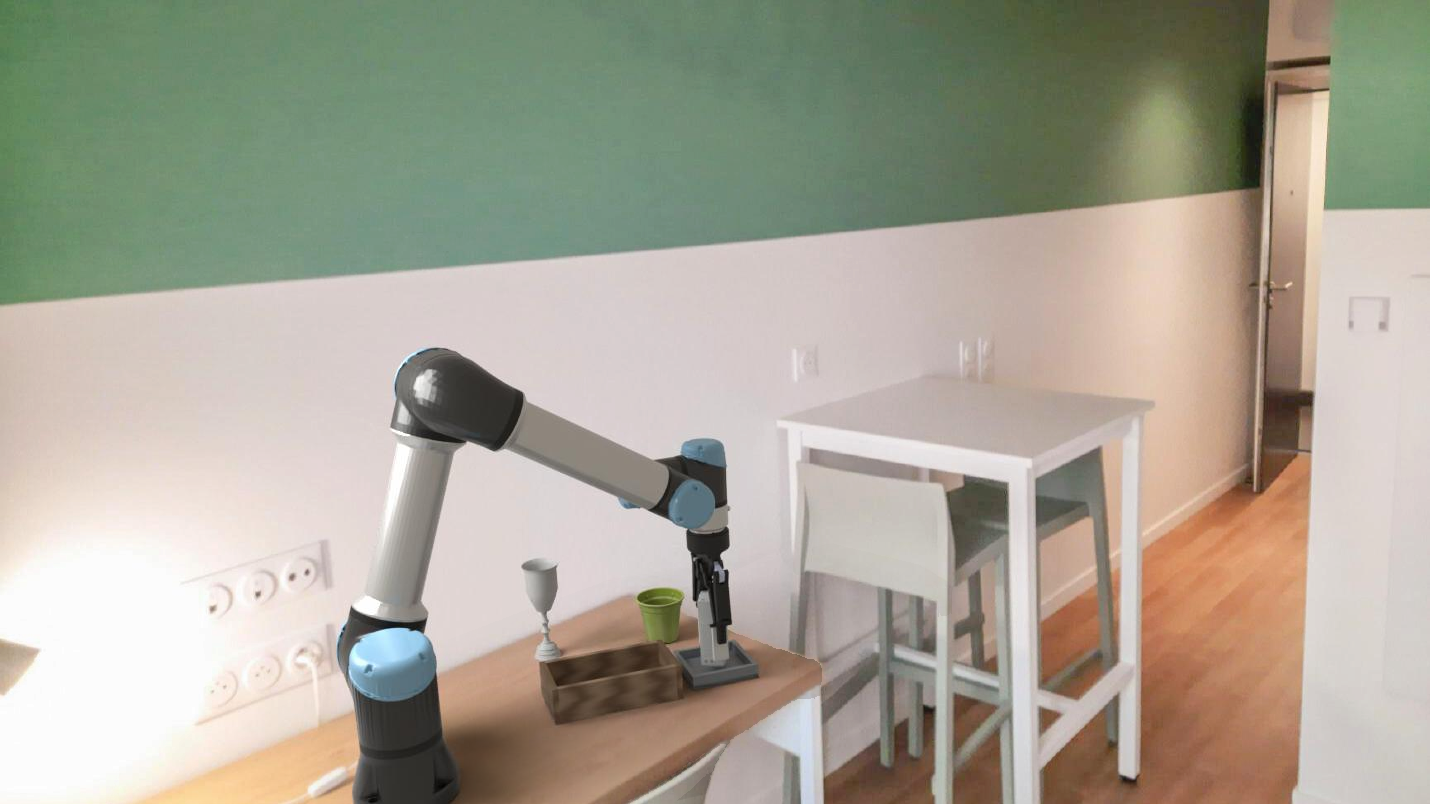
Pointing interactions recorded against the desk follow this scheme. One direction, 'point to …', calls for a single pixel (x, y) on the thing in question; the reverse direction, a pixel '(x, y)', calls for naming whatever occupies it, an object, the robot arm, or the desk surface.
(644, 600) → the plant pot
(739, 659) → the charcoal tray
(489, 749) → the desk surface
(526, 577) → the chalice
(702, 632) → the skincare box
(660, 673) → the walnut box
